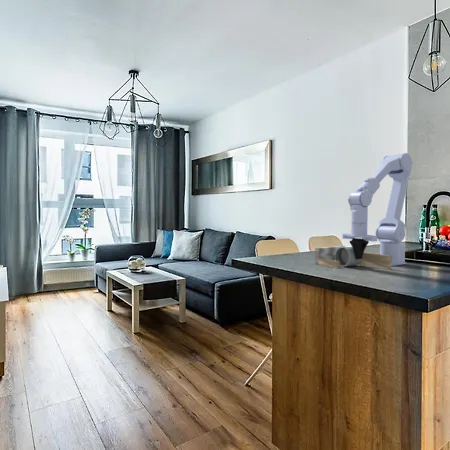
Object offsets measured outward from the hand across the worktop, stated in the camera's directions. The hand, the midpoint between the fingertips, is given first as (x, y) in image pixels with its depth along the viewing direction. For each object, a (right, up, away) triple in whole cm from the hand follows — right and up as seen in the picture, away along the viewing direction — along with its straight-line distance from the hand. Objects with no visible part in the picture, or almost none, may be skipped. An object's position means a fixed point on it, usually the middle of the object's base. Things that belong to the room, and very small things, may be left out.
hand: (358, 258), depth 137 cm
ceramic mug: (-3, -3, +5) cm, 7 cm away
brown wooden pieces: (-2, -3, +3) cm, 5 cm away
